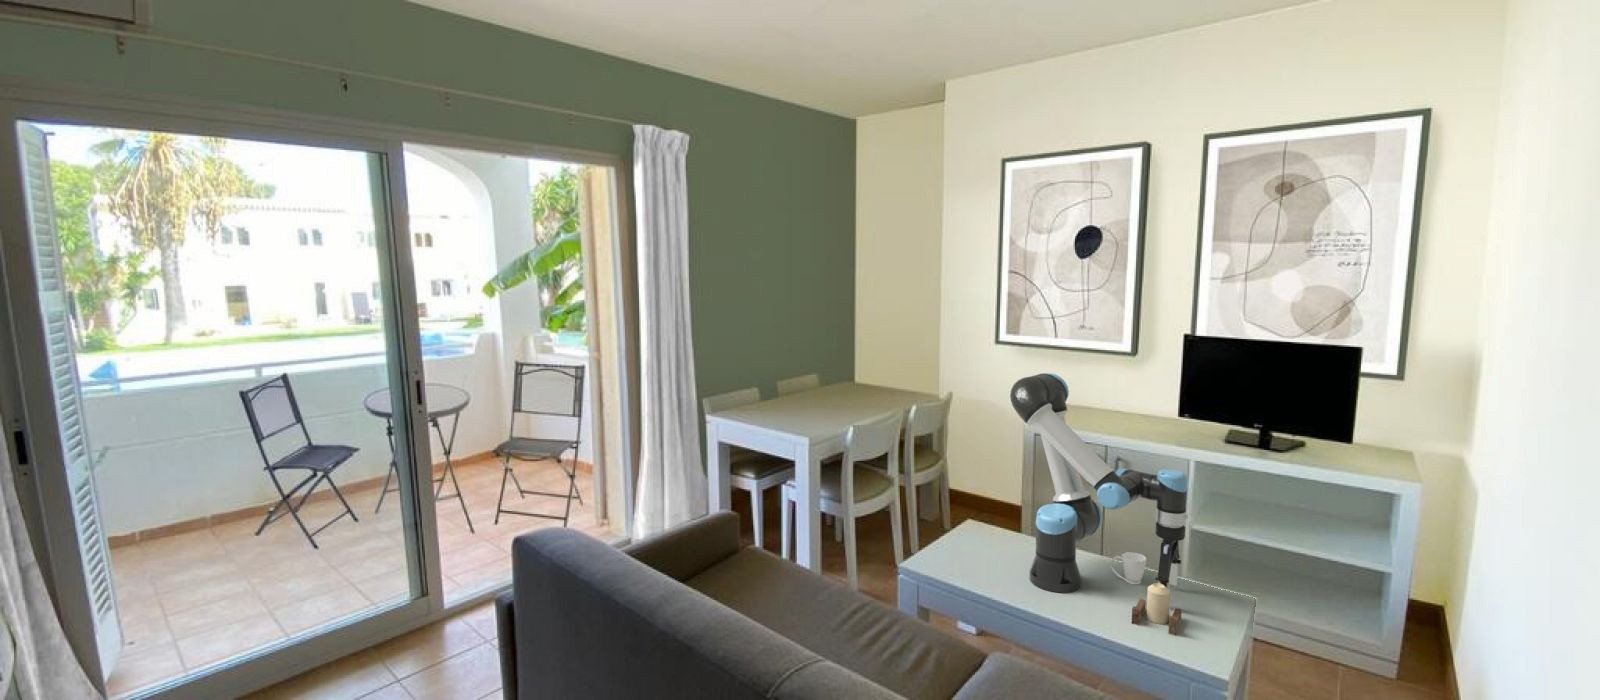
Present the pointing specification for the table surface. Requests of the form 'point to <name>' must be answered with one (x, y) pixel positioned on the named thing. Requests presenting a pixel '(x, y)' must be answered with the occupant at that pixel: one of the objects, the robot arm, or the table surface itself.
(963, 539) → the table surface
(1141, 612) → the wooden stepped bars
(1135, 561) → the cup
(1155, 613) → the candle
